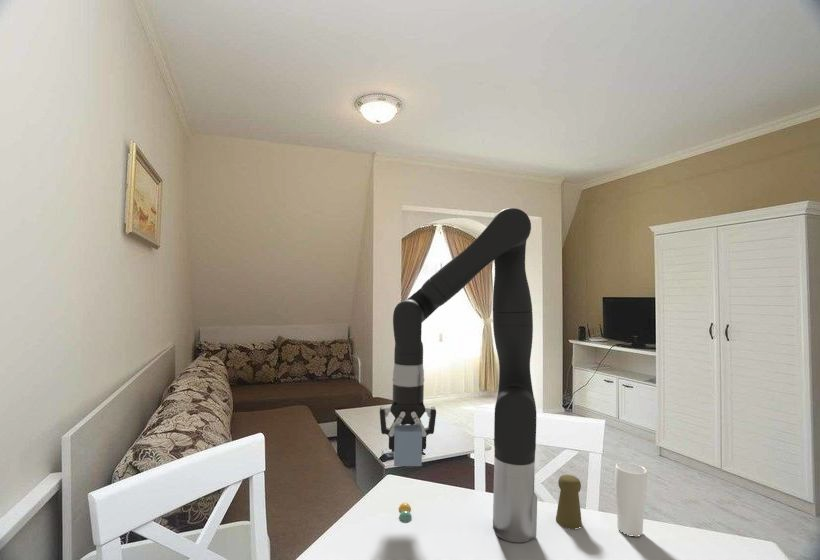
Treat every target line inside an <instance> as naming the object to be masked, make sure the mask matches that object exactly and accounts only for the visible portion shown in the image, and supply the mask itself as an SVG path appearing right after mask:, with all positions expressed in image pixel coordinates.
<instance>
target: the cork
mask: <svg viewBox="0 0 820 560" xmlns="http://www.w3.org/2000/svg"><path fill="white" fill-rule="evenodd" d="M557 485H558V487H559V489H560V490H559V491H560V492H559V496H558V497H559V498H558V504H557V510H556V516H555V521H556V524H557V525H559V526H560V527H563V528H565V529H568V528H570V529H569V530H576V529H575V528H579V527H581V526H582V527H583V521H582V513H581V504H580V502H581V501H580V495H579V493H580V491H581V489H582V483H581V481H580V479H579V478H578V477H576V476H574V475H573V474H563V475H561V476H560V477H559V478H558V482H557ZM582 527H581V528H582ZM579 529H580V528H579Z"/></svg>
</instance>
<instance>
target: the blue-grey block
mask: <svg viewBox="0 0 820 560" xmlns="http://www.w3.org/2000/svg"><path fill="white" fill-rule="evenodd" d="M422 455H423V452H422V428H418V427H417V425H416V424H414V425H410V424H406V425H401V424H400V425H399V427H398V428H395V431H394V452H393V466H394V467H422V466H423V464H422V461H423V460H422V459H423V458H422V457H423V456H422Z"/></svg>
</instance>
